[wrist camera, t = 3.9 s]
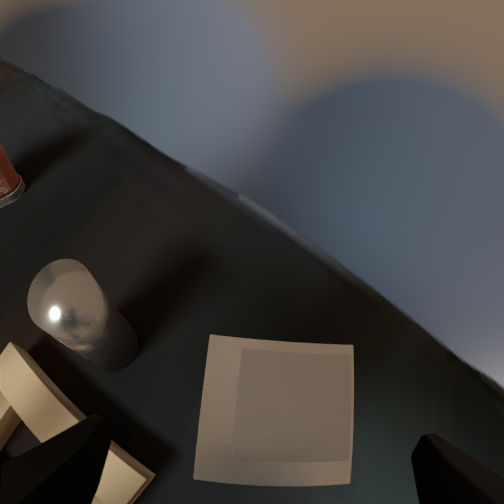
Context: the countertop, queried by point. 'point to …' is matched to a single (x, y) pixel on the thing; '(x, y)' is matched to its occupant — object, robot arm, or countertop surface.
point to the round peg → (81, 315)
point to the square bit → (276, 413)
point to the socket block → (59, 423)
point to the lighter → (9, 181)
